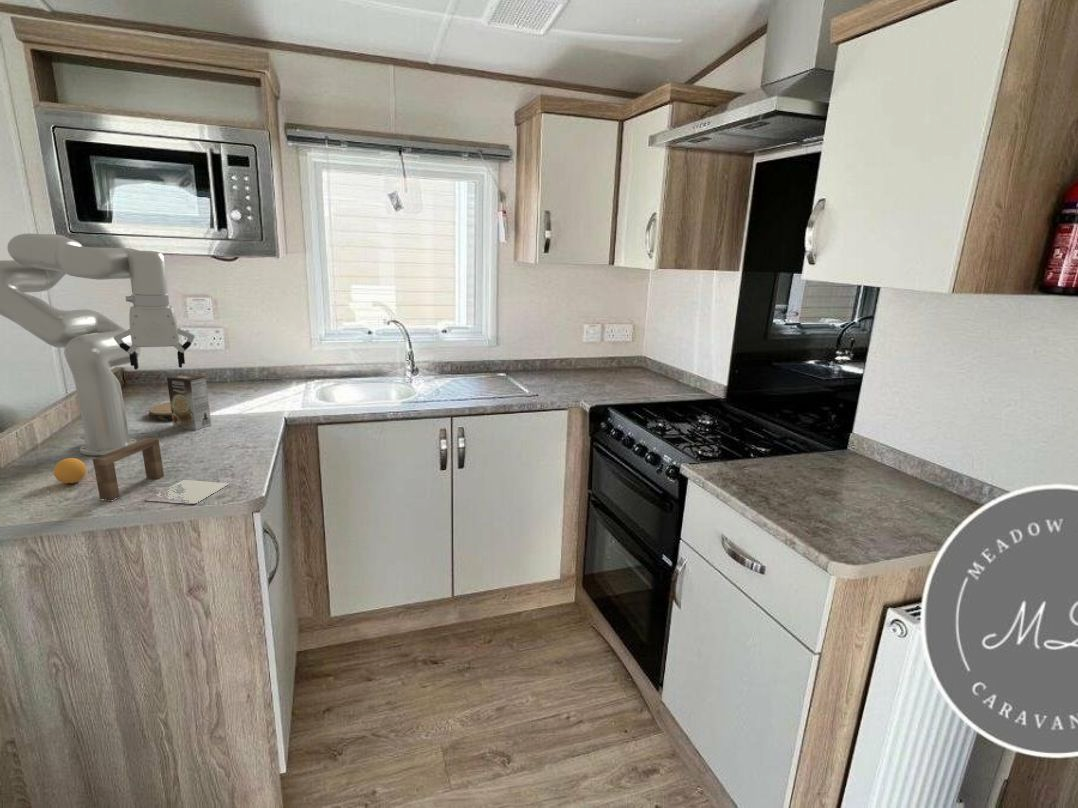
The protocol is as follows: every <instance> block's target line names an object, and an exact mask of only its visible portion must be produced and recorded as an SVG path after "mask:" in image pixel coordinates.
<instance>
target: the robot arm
mask: <svg viewBox="0 0 1078 808" xmlns="http://www.w3.org/2000/svg"><path fill="white" fill-rule="evenodd" d="M6 249H7V252H8V254H9V256H10V257H11V258H12V260H10V259H9V260H0V316H3V317H4V318H6V319H8V320H10V321H12V322H13V323H15V324H16V325H18V326H20V327H21V328H23V329H24V330H25V331H27V332H28V333H30V334H32V335H33V336H35V337H36V338H38V339H39V340H41V341H43V342H44V343H45V344H47V345H49V346H52V347H53V348H54V347H55V348H63V350H64V352H63V355H64V358H65V361H66V363H67V365H68V367H69V369H70V372H71V375H72V378H73V382H74V385H75V389H76V395H77V396H76V397H77V400H78V405H79V411H80V415H81V421H82V426H83V432H84V433H82V434H80V435H79V439H80V440H84V443H85V444H84V445H82V446H81V447H80V449H79V450H80V453H81V454H82V455H85V456H94V457H95V456H96V457H99V456H102V455H105V454H107V453H110V452H112V451H115V450H118V449H120V448H123V447H125V446H128V445H130V444H133V443H135V442H138V440H137V439H135V438H132V437H130V434H129V429H128V423H127V422H128V421H127V417H126V415H127V414H126V410H125V402H124V399H123V392H122V386H121V383H120V381H119V379H118V378H117V376H116V374H114V373H113V372H112V371H111V368H114V367H118V366H123V365H126V364H130V367H133V368H134V370H135V371H136V370H139V367H140V366H139V359H138V358H139V356H140V354H141V348H161V347H162V348H163V347H174V348H175V349H176V350H177V362H178V368H181V369H183V365H185V364H186V362H185V361H186V359H185V352H186V350H187V349H189V348H190V346H191V345H192V343H193V341H194V339H195V334H194V333H191V332H188V331H186V330H184V329H181V328H179V327H178V323H177V318H176V313H175V310H174V307H173V306H172V305H170V298H169V289H168V281H167V271H166V262H165V257H164V255H163V253H161V252H159V251H155V250H141V249H140V250H139V249H135V248H129V247H90V246H83V245H82V244H81V243H80V242H79V241H77V240H75V239H73V238H68V237H67V236H65V235H60V234H56V233H55V234H53V233H51V234H50V233H30V232H29V233H21V234H18V235H15V236H13V237H11V238H10V240H9V241H8V243H7V248H6ZM65 275H68V276H71V277H75V278H84V279H90V280H101V281H102V280H105V281H106V280H119V279H120V280H125V279H127V280H128V279H130V287H131V295H129V296H125V301H126V303H128V302H129V303H132V305H131V306H130V307H129V315H128V317H129V320H128V321H129V329H125V328H124V327H122V326H121V325H119V324H117V323H116V322H115V321H113V320H111V319H110V318H108V317H107V316H105V315H104V314H102V313H100V312H98V311H96V310H92V309H73V310H62V309H58V308H56V307H54V306H52V305H51V304H50V303H48V302H46V301H45V300H44V299H41V298H39V297H37V296H34V295H31V294H29V293H39V292H40V293H41V292H45V291H48V290H50V289H52V288H54V287H55V286H56V285H58V283H59V282H60V281H61V280H62V279H63V278H64V277H65ZM179 336H182V337H185V338H186V341H185V342H184V343H183V344H181V343H180V341H179V340H180V339H179V338H180V337H179Z"/></svg>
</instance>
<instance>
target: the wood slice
mask: <svg viewBox="0 0 1078 808" xmlns="http://www.w3.org/2000/svg"><path fill="white" fill-rule="evenodd" d="M148 416H149V419H150V420H152V421H157V422H173V419H172V412H171V405H170V401H169V402H165V403H160V404H156V405H153V406H151V407H150V408H149V409H148Z"/></svg>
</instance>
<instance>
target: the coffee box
mask: <svg viewBox="0 0 1078 808" xmlns="http://www.w3.org/2000/svg"><path fill="white" fill-rule="evenodd" d="M166 381H167V382H166V383H167V390H168V397H169V402H170V405H171V412H172V419H173V421H172V424H173V427H174V428H179V429H186V430H193V431H198V430H200V429H203V428H207V427H209V426H211V425H212V419H211V411H210V402H209V394H208V386H207V378H206V376H205V375H201V374H194V373H193V374H192V373H185V372H183V373H179V374H175V375H171V376H167V377H166Z"/></svg>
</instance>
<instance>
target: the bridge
mask: <svg viewBox="0 0 1078 808" xmlns="http://www.w3.org/2000/svg"><path fill="white" fill-rule="evenodd" d="M159 440H160V439H159V438H155V437H153V438H152V437H145V438H143V439H141V440H137V442H135V443H133V444H130V445H128V446H125V447H123V448H120V449H118V450H115V451H112V452H110V453H107V454H105V455H99V456H96V457H95V458H92V464H93V469H94V474H95V478H96V484H97V490H98V495H99V500H100V499H104V500H105V499H106V500H114V499H115V498H118V497H120V498H121V495H120V489H119V484H118V478H117V472H116V467H115V462H118V461H120V460H122V459H124V458H128V457H130V456H132V455H135V454H137V453H139V452H142V458H143V459H142V460H143V464H144V465H143V466H144V471H145V476H146V479H148V478H154V479H153V480H159V479H161V478H160V477H162V478H164V477H165V475H164V467H163V460H162V453H161V446H160V441H159ZM163 476H164V477H163Z"/></svg>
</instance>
